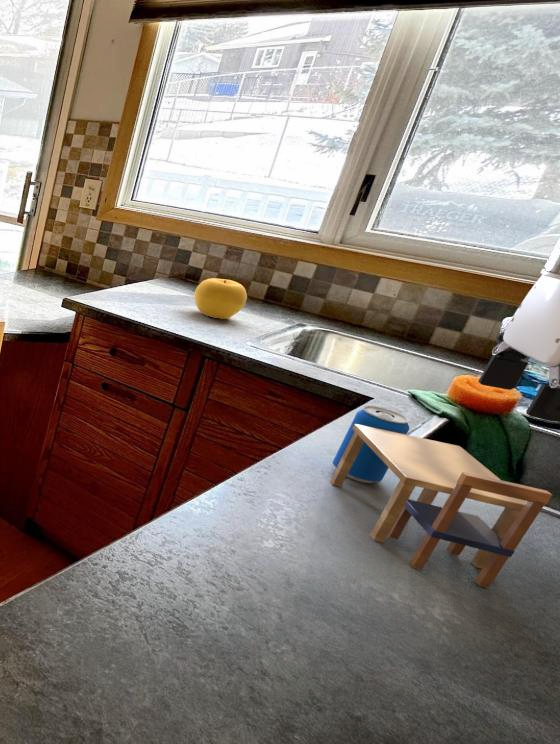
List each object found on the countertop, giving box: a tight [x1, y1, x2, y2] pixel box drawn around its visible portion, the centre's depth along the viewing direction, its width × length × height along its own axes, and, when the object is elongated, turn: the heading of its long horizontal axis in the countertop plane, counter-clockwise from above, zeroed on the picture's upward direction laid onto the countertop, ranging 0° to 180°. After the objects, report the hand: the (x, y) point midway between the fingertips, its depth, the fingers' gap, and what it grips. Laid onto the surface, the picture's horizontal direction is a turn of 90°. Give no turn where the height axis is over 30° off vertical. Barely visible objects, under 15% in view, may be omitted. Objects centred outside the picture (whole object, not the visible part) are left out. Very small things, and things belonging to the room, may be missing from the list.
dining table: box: [329, 424, 527, 570], centre depth 92 cm, size 13×17×11 cm
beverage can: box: [332, 405, 410, 484], centre depth 103 cm, size 6×6×12 cm
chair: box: [387, 472, 553, 589], centre depth 83 cm, size 8×8×15 cm
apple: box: [194, 277, 248, 320], centre depth 184 cm, size 13×13×11 cm
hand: (518, 401), depth 76 cm, fingers open, 9 cm apart
